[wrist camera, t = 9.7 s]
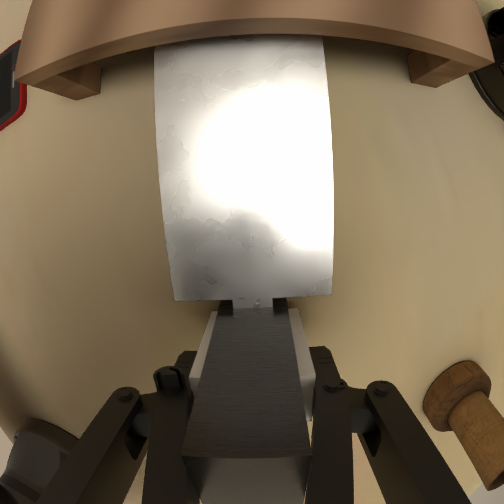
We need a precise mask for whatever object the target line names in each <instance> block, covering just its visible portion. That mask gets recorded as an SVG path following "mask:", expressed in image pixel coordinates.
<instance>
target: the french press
mask: <svg viewBox="0 0 504 504" xmlns="http://www.w3.org/2000/svg"><path fill="white" fill-rule="evenodd" d="M482 20H483V23H484V26H485V29H486V32H487V35H488V39H489V42H490V46H491V49H492V53H493V57H494V61H495V62H494V63H492V64H489V65H487V66H485V67H482V68H480V69H477V70H475V71H473V72H470V73H469V75H470V77H471V79H472V81H473V83H474V85H475V87H476V88H477V90H478V91H479V93H480V95H481V96H482V98H483V99H484V100H485V102H486V103H487V104H488V106H489V107H490V108H491V109H492V110H493V111H494V112H495V113H496V114H497V115H498V116H499V117H500V118H502V119H503V120H504V74H503V72H502V69H501V67H500V65H499V64H500V63H503V62H504V7H503V8H501V9H498V10H493V11H491V12H489V13H488V14H486V15H484V16H483V17H482ZM489 33H492V34H495V35H497V36H498V37H496V38H494V39H492V40H490V37H489Z"/></svg>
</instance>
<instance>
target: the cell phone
mask: <svg viewBox="0 0 504 504" xmlns="http://www.w3.org/2000/svg"><path fill="white" fill-rule="evenodd" d="M21 40H22V39H21ZM21 40H18V41H17V42H15V43H14V44H12V45H11V46H10V47H9V48H7V49H6V50H5V51H4V52H2V53H1V54H0V55H1V56H0V131H1V130H3V129H4V128H5V127H7V126H8V125H9V124H11V123H12V122H14V121H15V120H16V119H18V118H19V117H20V116H21V115H22V114H23V113H24V111H25V109H26V104H27V84H23V83H20V82H16V81H14V75H15V69H16V63H17V58H18V53H19V48H20V44H21Z"/></svg>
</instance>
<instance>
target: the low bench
mask: <svg viewBox="0 0 504 504" xmlns="http://www.w3.org/2000/svg"><path fill="white" fill-rule="evenodd" d="M243 34H311V35H326V36H337V37H347V38H355V39H362V40H369V41H375V42H381V43H387V44H392V45H397V46H402V47H406V48H411V49H415V50H414V51H413V52H411V53H410V54H409V55H408V56H407V59H408V65H409V71H410V78H411V83H416V84H421V85H425V86H430V87H434V88H437V87H439V86H441V85H443V84H445V83H448V82H450V81H452V80H454V79H457V78H459V77H461V76H463V75H466V74H468V73H470V72H473V71H475V70H477V69H480V68H482V67H485V66H487V65H489V64H492V63H494V62H495V61H494V57H493V53H492V49H491V46H490V42H489V39H488V35H487V32H486V29H485V26H484V23H483V20H482V17H481V14H480V11H479V9H478V6H477V3H476V1H475V0H33V1H32V4H31V7H30V10H29V13H28V17H27V20H26V24H25V28H24V31H23V35H22V40H21V44H20V48H19V53H18V58H17V63H16V69H15V75H14V81H16V82H20V83H23V84H27V85H30V86H33V87H37V88H40V89H43V90H46V91H49V92H52V93H55V94H58V95H61V96H64V97H67V98H70V99H73V100H79V99H83V98H86V97H90V96H93V95H97V94H100V83H101V71H102V67H100V66H99V65H97V64H95V63H94V61H97V60H100V59H103V58H107V57H110V56H114V55H117V54H121V53H125V52H129V51H133V50H137V49H142V48H146V47H151V46H156V45H161V44H166V43H172V42H178V41H184V40H191V39H199V38H207V37H216V36H228V35H243Z"/></svg>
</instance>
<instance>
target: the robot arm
mask: <svg viewBox="0 0 504 504" xmlns="http://www.w3.org/2000/svg"><path fill="white" fill-rule="evenodd" d="M288 311H289V317H290V323H291V328H292V334H293V340H294V346H295V352H296V358H297V364H298V370H299V376H300V382H301V388H302V394H303V401H304V407H305V413H306V420H307V421H312V416H313V428H312V436H311V438H312V440H311V453H312V457H311V463H310V469H309V475H308V481H307V489H306V497H305V504H354V480H353V450H352V433H357V435H358V437H359V439H360V442H361V444H362V447H363V449H364V451H365V454H366V456H367V458H368V461H369V463H370V465H371V468H372V470H373V473H374V475H375V477H376V480H377V482H378V485H379V487H380V490H381V492H382V494H383V497H384V499H385V502H386V504H471V503H470V500H469V499H468V497H467V495H466V494H465V492H464V491H463V489H462V487H461V486H460V484H459V482H458V481H457V479H456V478H455V476H454V474H453V473H452V471H451V470H450V468H449V466H448V465H447V463H446V462H445V460H444V459H443V457H442V455H441V454H440V452H439V451H438V449H437V448H436V446H435V445H434V443H433V441H432V440H431V438H430V437H429V435H428V434H427V432H426V431H425V429H424V428H423V426H422V425H421V423H420V422H419V420H418V419H417V417H416V416H415V414H414V413H413V411H412V410H411V408H410V407H409V406H408V404H407V403H406V401H405V400H404V398H403V397H402V395H401V394H400V392H399V391H398V389H397V388H396V387H395V386H394V385H393V384H392V383H390V382H388V381H374V382H372V383H370V384H369V385H368V386H367V389H357V388H352V387H349V386H348V385H347V383H346V382H345V381H344V380H343V379H341V378H340V375H339V373H338V370H337V367H336V365H335V363H334V359H333V357H332V354H331V351H330V350H329V349H327V348H326V347H325V346H318V347H308V344H307V340H306V336H305V333H304V329H303V325H302V322H301V318H300V315H299V311H298V308H291V309H288ZM217 312H218V311H212V312H211V315H210V318H209V321H208V324H207V326H206V329H205V332H204V335H203V338H202V341H201V343H200V346H199V349H198V351H184V352H183V353H182V354H180V355H179V356H178V359H177V361H176V363H175V366H166V367H162V368H160V369H158V370H157V371H155V373H154V374H153V377H154V381H155V384H156V388H157V392H155V393H151V394H143V395H140V394H139V391H138V390H137V389H136V388H133V387H123V388H119V389H117V390H116V391H114V392H113V393H112V395H111V396H110V397H109V399H108V400H107V401H106V403H105V404H104V406H103V407H102V408H101V410H100V411H99V412H98V414H97V415H96V417H95V418H94V419H93V421H92V422H91V424H90V425H89V426H88V428H87V429H86V431H85V432H84V433H83V435H82V436H81V438H80V439H79V440H78V439H76V438H74V437H73V436H71V435H70V434H68V433H66V432H65V431H63V430H61V429H59V428H57V427H55V426H53V425H51V424H49V423H46V422H43V421H40V420H36V419H28V420H26V421H24V422H23V424H22V425H21V426H20V427H19V429H18V430H17V431H16V433H15V436H14V442H15V443H14V445H13V447H12V450H11V453H10V456H9V459H8V463H7V467H6V470H5V472H4V473H3V475H2V476H1V477H0V504H123V501H124V499H125V497H126V495H127V493H128V491H129V489H130V486H131V484H132V482H133V480H134V478H135V476H136V474H137V472H138V469H139V467H140V465H141V463H142V461H143V459H144V457H145V455H146V452H147V450H148V452H147V460H146V468H145V477H144V486H143V495H142V504H200V501H199V496H198V493H197V491H196V489H195V487H194V485H193V483H192V481H191V478H190V476H189V474H188V471H187V469H186V467H185V465H184V462H183V460H182V458H181V451H182V447H183V443H184V439H185V435H186V431H187V427H188V423H189V419H190V415H191V411H192V407H193V404H194V400H195V396H196V392H197V388H198V384H199V380H200V376H201V373H202V369H203V365H204V361H205V357H206V354H207V350H208V346H209V342H210V338H211V335H212V331H213V327H214V324H215V320H216V316H217Z"/></svg>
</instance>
